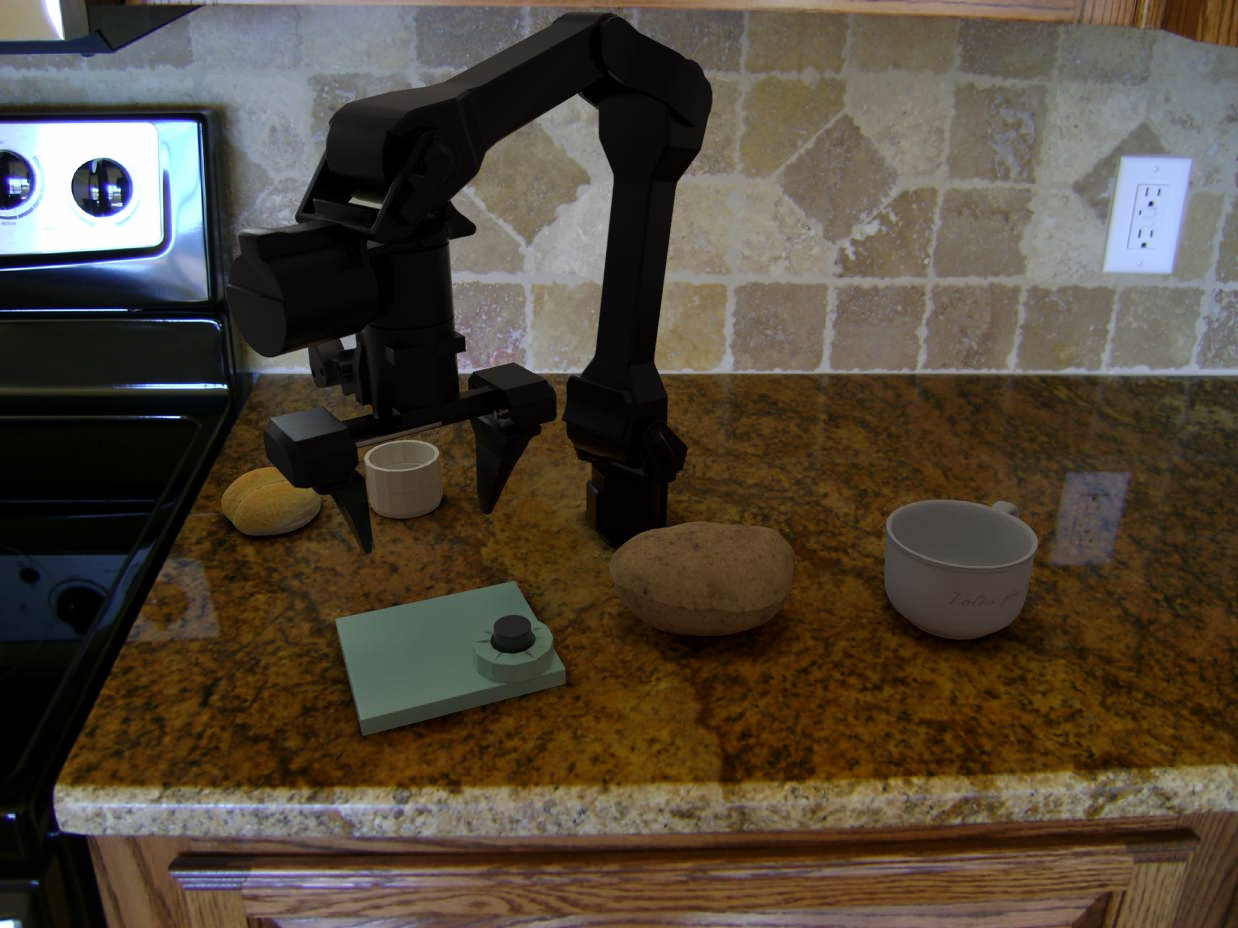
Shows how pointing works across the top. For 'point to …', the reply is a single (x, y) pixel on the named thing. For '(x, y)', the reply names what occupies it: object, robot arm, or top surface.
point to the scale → (441, 657)
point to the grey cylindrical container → (404, 478)
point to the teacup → (958, 566)
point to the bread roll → (268, 503)
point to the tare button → (512, 634)
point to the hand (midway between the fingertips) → (428, 531)
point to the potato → (704, 577)
